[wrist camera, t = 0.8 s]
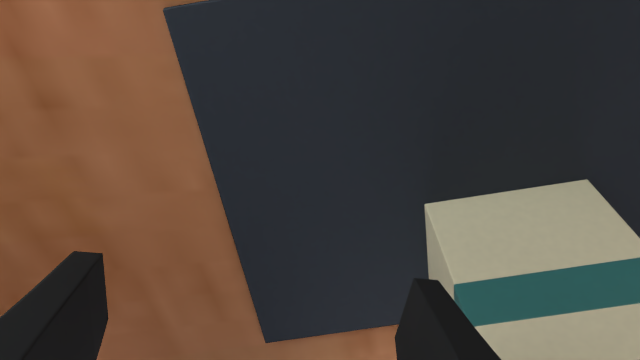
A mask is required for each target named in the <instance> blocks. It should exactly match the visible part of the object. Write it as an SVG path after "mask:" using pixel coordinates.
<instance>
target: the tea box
mask: <svg viewBox="0 0 640 360" xmlns="http://www.w3.org/2000/svg"><path fill="white" fill-rule="evenodd" d="M424 206H425V223H426V239H427V256H428V273H429V279H432V280H438V281H439V282H440V283H441V284H442V286H443V287H444V288H445V290H446V291H447V292H448V293H449V295H450V296H451V297H452V299H453V300H454V301H455V303H456V304H457V305H458V307H459V308H460V309H461V310H462V312H463V313H464V314H465V316H466V317H467V318H468V319H469V321H470V322H471V323H472V325H473V326H474V327H475V328H476V330H477V331H478V332H479V333H480V335H481V336H482V337H483V338H484V340H485V341H486V342H487V343H488V344H489V346H490V347H491V348H492V349H493V350H494V352H495V353H496V354H497V355H498V356H499V357H500V359H501V360H640V238H639V237H638V236H637V235H636V233H635V232H634V231H633V230H632V229H631V228H630V227H629V226H628V224H627V223H626V222H625V221H624V220H623V219H622V218H621V217H620V215H619V214H618V213H617V212H616V211H615V210H614V209H613V208H612V206H611V205H610V204H609V203H608V202H607V201H606V200H605V199H604V197H603V196H602V195H601V194H600V193H599V192H598V191H597V190H596V188H595V187H594V186H593V185H592V184H591V183H590V182H589V181H588V180H587V179H586V180H579V181H573V182H566V183H559V184H553V185H546V186H540V187H533V188H526V189H520V190H513V191H507V192H500V193H494V194H487V195H480V196H474V197H467V198H461V199H454V200H448V201H441V202H434V203H428V204H425V205H424Z"/></svg>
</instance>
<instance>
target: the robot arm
mask: <svg viewBox="0 0 640 360" xmlns="http://www.w3.org/2000/svg"><path fill="white" fill-rule="evenodd" d="M107 321H108V309H107V298H106V287H105V276H104V264H103V253H90V252H77V251H74V252H73V253H71V254H70V255H69V256H68V257H67V258H66V259H65V260H63V261H62V262H61V263H60V264H59V265H58V266H57V267H56V268H55V269H54V270H53V271H52V272H51V273H50V274H48V275H47V276H46V277H45V278H44V279H43V280H42V281H41V282H40V283H39V284H38V285H36V286H35V287H34V288H33V289H32V290H31V291H30V292H29V293H28V294H27V295H25V296H24V297H23V298H22V299H21V300H20V301H19V302H17V303H16V304H15V305H14V306H13V307H12V308H10V309H9V310H8V311H7V312H6V313H5V314H4V315H2V316H1V317H0V360H96V359H97V356H98V352H99V349H100V346H101V343H102V339H103V336H104V332H105V328H106V325H107ZM395 343H396V353H397V360H501V359H500V357H499V356H498V355H497V354H496V353H495V352H494V350H493V349H492V348H491V347H490V346H489V344H488V343H487V342H486V341H485V340H484V338H483V337H482V336H481V335H480V333H479V332H478V331H477V330H476V328H475V327H474V326H473V325H472V323H471V322H470V321H469V319H468V318H467V317H466V316H465V314H464V313H463V312H462V310H461V309H460V308H459V307H458V305H457V304H456V303H455V301H454V300H453V299H452V297H451V296H450V295H449V293H448V292H447V291H446V290H445V288H444V287H443V286H442V284H441V283H440V282H439V281H438V280H432V279H419V278H413V281H412V284H411V288H410V291H409V294H408V297H407V300H406V304H405V307H404V310H403V313H402V316H401V319H400V323H399V326H398V329H397V332H396V335H395Z"/></svg>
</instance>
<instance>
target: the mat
mask: <svg viewBox="0 0 640 360" xmlns="http://www.w3.org/2000/svg"><path fill="white" fill-rule="evenodd" d="M163 12H164V15H165V19H166V22H167V25H168V28H169V32H170V35H171V38H172V41H173V44H174V48H175V51H176V54H177V57H178V61H179V64H180V67H181V70H182V74H183V77H184V80H185V83H186V87H187V90H188V93H189V96H190V100H191V103H192V106H193V109H194V113H195V116H196V119H197V122H198V125H199V129H200V132H201V135H202V138H203V142H204V145H205V148H206V151H207V155H208V158H209V161H210V164H211V168H212V171H213V174H214V177H215V181H216V184H217V187H218V190H219V193H220V197H221V200H222V203H223V206H224V210H225V213H226V216H227V219H228V223H229V226H230V229H231V232H232V236H233V239H234V242H235V245H236V249H237V252H238V255H239V258H240V262H241V265H242V268H243V271H244V274H245V278H246V281H247V284H248V287H249V291H250V294H251V297H252V300H253V304H254V307H255V310H256V313H257V317H258V320H259V323H260V326H261V330H262V333H263V336H264V339H265V342H266V343H270V342H277V341H284V340H291V339H298V338H305V337H312V336H319V335H326V334H333V333H340V332H347V331H354V330H361V329H368V328H375V327H382V326H389V325H396V324H399V323H400V319H401V316H402V313H403V310H404V307H405V304H406V300H407V297H408V294H409V291H410V288H411V284H412V281H413V278H419V279H429V273H428V256H427V239H426V223H425V206H424V205H425V204H428V203H434V202H441V201H448V200H454V199H461V198H467V197H474V196H480V195H487V194H494V193H500V192H507V191H513V190H520V189H526V188H533V187H540V186H546V185H553V184H559V183H566V182H573V181H579V180H586V179H587V180H588V181H589V182H590V183H591V184H592V185H593V186H594V187H595V188H596V190H597V191H598V192H599V193H600V194H601V195H602V196H603V197H604V199H605V200H606V201H607V202H608V203H609V204H610V205H611V206H612V208H613V209H614V210H615V211H616V212H617V213H618V214H619V215H620V217H621V218H622V219H623V220H624V221H625V222H626V223H627V224H628V226H629V227H630V228H631V229H632V230H633V231H634V232H635V233H636V235H637V236H638V237H639V238H640V0H208V1H202V2H196V3H190V4H184V5H179V6H173V7H167V8H164V10H163Z"/></svg>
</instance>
